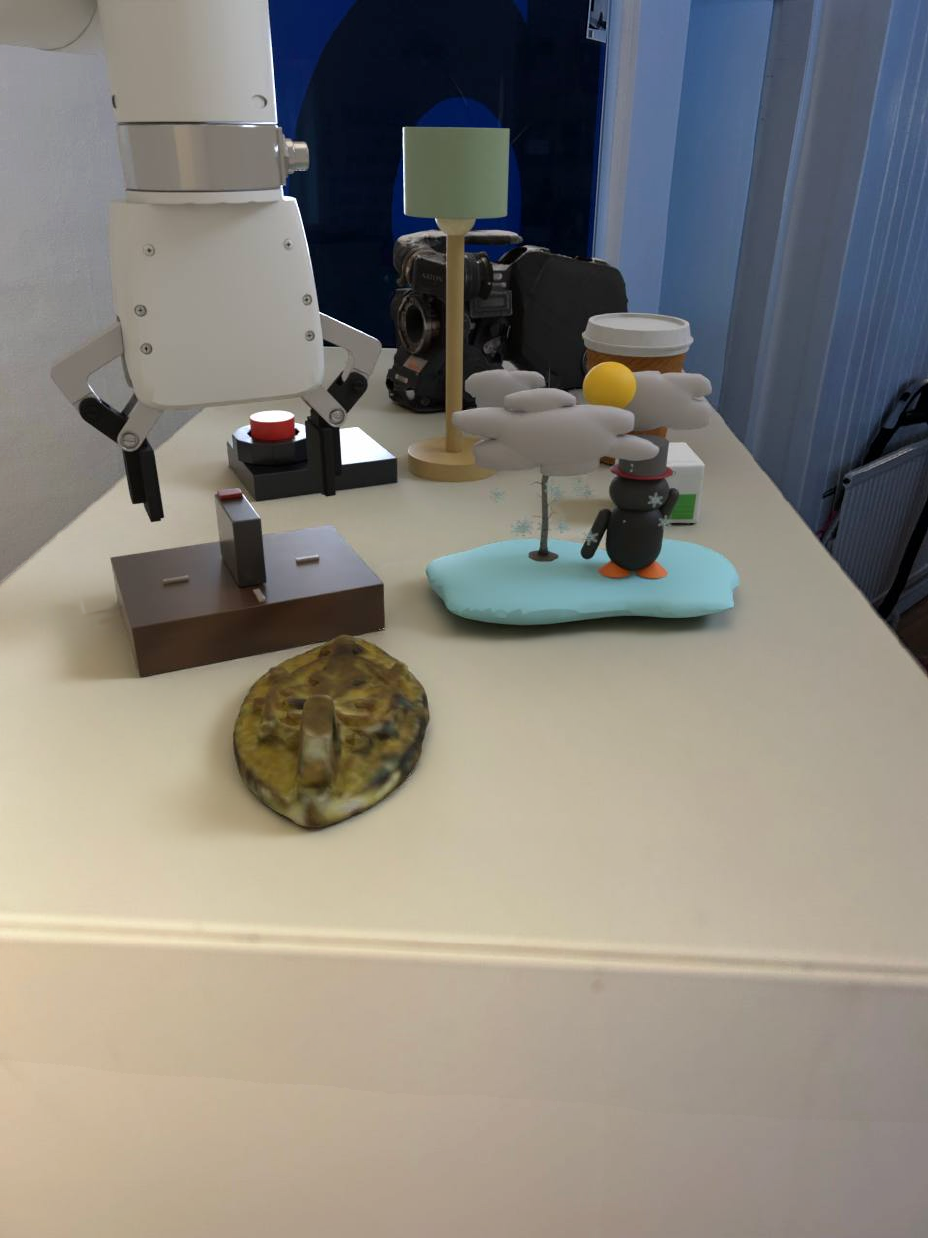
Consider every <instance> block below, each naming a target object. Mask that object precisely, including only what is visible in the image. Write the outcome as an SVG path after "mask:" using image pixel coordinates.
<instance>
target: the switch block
mask: <svg viewBox="0 0 928 1238" xmlns="http://www.w3.org/2000/svg"><path fill="white" fill-rule="evenodd" d="M295 434H296V436H294V437H291V438H287V439H279V440H259V439H255V438H251V427H250V424H248V425H245V426H241V427H238V428H237V429H236V430H235V431H233V432H232V434H231V440H228V441H226V450H227V459H228V466H229V468H230V469H231V471H233V473H234V474H235V475H236V477H237V478H238V479H239V481H240V482H241V483H242V485H243V486H244V487H245V489H246V490H247V492H248V493H249V494H250V496H251V497H252V499H253V500H254V501H255V502H257V503H259V502H266V501H272V500H279V499H286V498H287V499H288V498H295V497H302V496H310V495H317V494H321V493H320V492H319V491H318V490H317V489H316V488H315V487H314V485H313V484H312V483H311V482H310V480H309V471H308V458H307V445H306V433H305V424H301V423H297V422H295ZM340 441H341V458H342V475H341V476H335V486H336V492H339V491H346V490H347V491H348V490H353V489H361V488H370V487H376V486H383V485H392V484H397V483H398V458H397V457H396V456H395V455H393V454H392V453H391V452H390V451H389V450H387V449H386V448H384V446H382V445H381V444H380V443H378V442H377V441H376V440H375V439H373V438H372V437H371V435H369V434H367V433H366V432H365V431H364V430H362V429H361V428H360V427H358V426H356V427H346V428H340Z"/></svg>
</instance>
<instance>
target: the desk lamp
mask: <svg viewBox="0 0 928 1238" xmlns="http://www.w3.org/2000/svg"><path fill="white" fill-rule="evenodd" d="M510 130H511V129H510V128H507V127H506V128H504V127H503V128H502V127H501V128H500V127H499V128H498V127H454V126H453V127H446V126H445V127H443V126H442V127H441V126H439V127H438V126H403V127H402V155H403V156H402V157H403V158H402V160H403V164H402V165H403V214H404V215H405V216H408V217H413V218H422V219H423V218H426V219H434V220H435V223H436V225H437V227H438V229H440V230H441V231H442V232H443V233H445V234H446V235H447V251H446V410H445V436H444V437H433V438H428V439H423V440H420V441H416V442H415V443H413V444H411V445H410V446H409V447H408V449H407V470H408V471H409V472H410V473H411V474H412V475H414V476H416V477H419V478H421V479H425V480H429V481H435V482H442V483H467V482H468V483H469V482H475V481H481V480H485V479H488V478H491V477H493V476H495V475H496V474H497V473H498V472H499V471H493V470H487V469H483V468H480V467H478V466H476V464H475V456H474V455H473V454H472V447H473V445H474V444H476V443H477V442H480V441H482V440H483V439H477V438H470V437H463V432H462V431H459V430H457V429H456V428H455V427H454V426H453V423H452V414H453V413H454V412H457V411H463V407H462V383H463V304H464V252H465V245H464V235H465V234H467V233H468V232H469V231H470V230H473V227H474V226H475V224H476V220H482V219H483V220H484V219H499V218H504V217H505V218H506V217H507V216H508V195H509V193H508V192H509V167H510V166H509V165H510V163H509V161H510V136H511V135H510V132H511V131H510Z"/></svg>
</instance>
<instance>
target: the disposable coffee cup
mask: <svg viewBox="0 0 928 1238" xmlns="http://www.w3.org/2000/svg"><path fill="white" fill-rule="evenodd" d="M582 337H583V339H584V344H585V346H586V347H587V366H588V372H589V371H590V370H591V369H592V368H593V367H595V366H596V365H598V364H601V363H604V362H617V363H620V364H623V365H624V366H626V367H627V368H629V369H630V371H631V372H643V371H659V372H660V373H661V374H665V373H683V372H682V371H683V367H684V363H685V359H686V356H687V352H689V350H690V346H691V345H692V344H693V342H694V337H693V336H692V335H691V327H690V323H689V321H687V320H685V319H683V318H679V317H677V316H670V315H665V314H655V313H646V312H645V313H643V312H641V313H640V312H628V313H611V314H602V315H596V316H593V317H591V318H589V320H588V324H587V327H586V331H585V332H583V333H582ZM661 374H660V375H661ZM588 405H590V404H589V403H588ZM668 429H669V428H666V427H662V426H660V427H658V428H655V429H651V430H642V431H631V432H628V433H626V435H632V434H648V435H655V436H659V437H663V438H665V439H666V437H667V433H668ZM615 459H616V458H611V457H607V456H603V457H601V458H600V462H601V463H604V464H608V465H611V466H613V465H615Z"/></svg>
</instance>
